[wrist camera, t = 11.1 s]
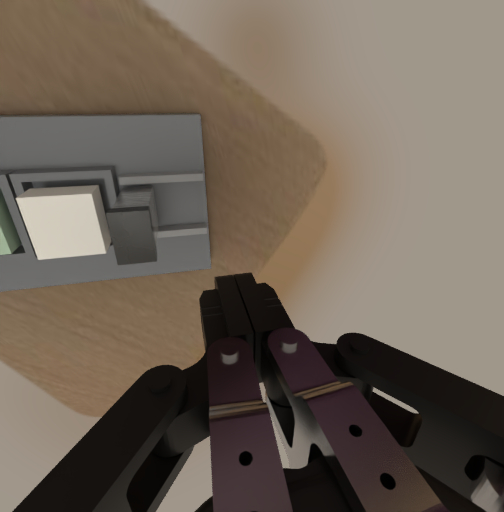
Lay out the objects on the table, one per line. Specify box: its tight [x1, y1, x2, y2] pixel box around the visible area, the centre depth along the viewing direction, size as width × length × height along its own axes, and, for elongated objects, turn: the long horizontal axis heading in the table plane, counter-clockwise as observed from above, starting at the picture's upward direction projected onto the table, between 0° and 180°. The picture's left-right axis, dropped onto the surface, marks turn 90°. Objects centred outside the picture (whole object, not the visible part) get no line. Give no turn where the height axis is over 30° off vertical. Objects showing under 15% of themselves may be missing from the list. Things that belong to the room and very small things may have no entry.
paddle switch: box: [106, 185, 159, 265], centre depth 20 cm, size 2×3×6 cm
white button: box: [16, 185, 111, 260], centre depth 20 cm, size 4×4×2 cm
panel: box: [0, 113, 211, 292], centre depth 22 cm, size 18×12×3 cm, turn 90°
